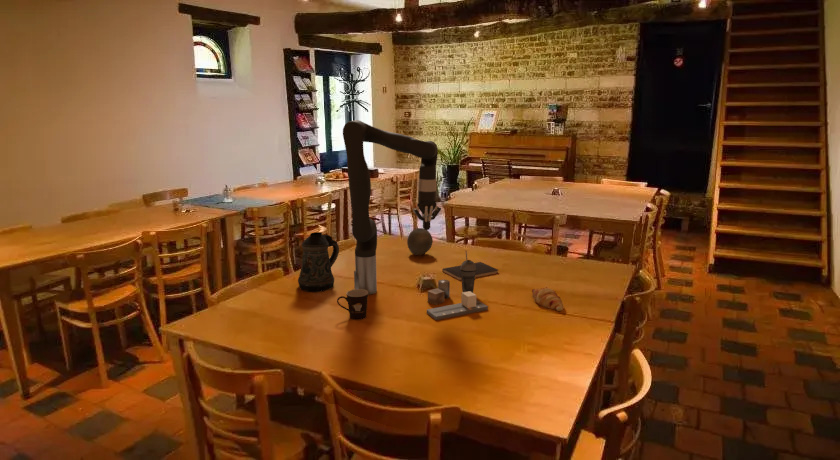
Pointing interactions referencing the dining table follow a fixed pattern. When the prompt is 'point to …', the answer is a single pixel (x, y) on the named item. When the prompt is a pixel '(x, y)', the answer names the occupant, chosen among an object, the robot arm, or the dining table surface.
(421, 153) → the robot arm
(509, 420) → the dining table surface
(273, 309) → the dining table surface
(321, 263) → the beer stein
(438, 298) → the walnut block
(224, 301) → the dining table surface
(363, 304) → the coffee mug
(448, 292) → the metal canister
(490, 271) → the hardcover book
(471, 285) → the beverage cup
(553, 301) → the croissant
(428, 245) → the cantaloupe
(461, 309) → the board
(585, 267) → the dining table surface
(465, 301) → the knob
